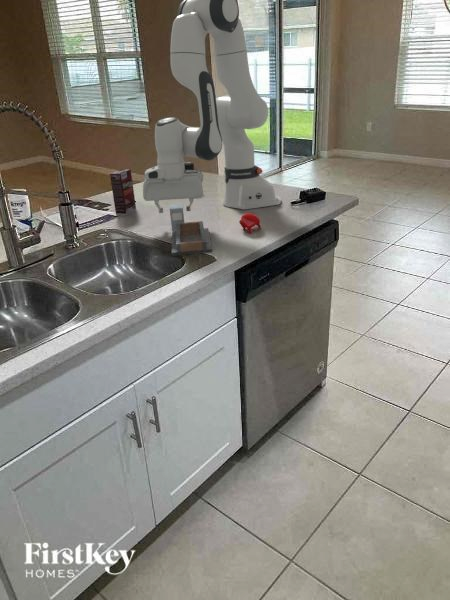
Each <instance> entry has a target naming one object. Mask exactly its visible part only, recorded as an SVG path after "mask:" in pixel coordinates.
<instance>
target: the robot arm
mask: <svg viewBox="0 0 450 600" xmlns="http://www.w3.org/2000/svg"><path fill="white" fill-rule="evenodd" d="M242 24H243V23H242V20H241V19H240V7H239V3H238V0H182V2H181V3H180V4H179V7H178V10H177V16H176V17H175V19H174V20H173V22H172V28H171V33H170V49H169V51H170V70H171V74H172V76H173V77H174V79H175V80H176V81H177V82H178V83H179V84H181V86H184V87H185V88H187V89H189V90H190V91H192V92H193V93H194V95H195V96H196V99H197V105H198V112H199V113H198V114H199V121H200V122H199V123H200V127H199V126H189V125H187V124H184V123H183V122H181V121H180V120H179V118H178V117H173V116H172V117H166V118H162V119H159V120H158V121H157V122H156V123H155V127H154V144H155V151H156V154H157V159H156V163H157V164H156V165H155V166H152V167H150V168H147V169H146V170H145V171H144V178H145V179H144V181H143V185H142V197H143V198H142V199H143V200H144V201H146V202H152V201H154V205H155V206H156V207H157V209H158V214H163V213H164V207H163V206H161V205H160V204H159V203H160V201H168V200H183V199H184V200H187V199H188V201H189V203H188V204H186V205H185V207H186V208H185V209H186V212H191V211H192V210H191V209H192V208H191V207H192V205H193V203H194V199H199V198H200V199H201V198H202V197H203V196H204V187H203V181H204V173H203V172H202V171H201V170H199V169H195V168H194V170H185V167H184V163H185V159H184V157H188V158H196V159H201V160H204V161H212V160H214V159H215V158H216V157H218V156H219V154H220V152H221V151H222V149H224V151H223V153H224V163H225V164H224V165H225V166H224V170H223V171H224V172H223V173H224V174H223V176H224V182H225V190H224V191H225V193H224V199H223V206H226V207H227V208H232V209H233V208H234V209H240V210H251V209H256V208H257V209H258V208H259V209H260V208H263V207H272V206H278V205H280V204H281V203H282V198H281V197H280V196H279V195H277V194H276V192H275V187H274V186H273V184H272V183H271V182H270V181H268V179H266V178H264V177H263V176H261V175H262V173H263V169H262V167H259V166H257V165H255V146H254V143H253V142H252V140H251V139H250V138H249V136H248V135H247V132H246V130H253V129H258V128H260V127H263V126H264V125H265V124H266V122H267V120H268V116H269V107H268V105H267V102H266V101H265V100H264V99H263V98H262V97H261V96H260V95H259V93H258V92H257V89H256V87H255V85H254V83H253V80H252V77H251V74H250V66H249V65H250V64H249V58H248V57H249V56H248V51H247V50H248V49H247V41H246V36H245V31H244V27H243V25H242ZM208 34H210V36H211V37H212V39H213V51H214V59H215V66H216V68H215V69H216V75H217V79H218V81H219V82H220V84H222V86H224V88H225V89H226V91H227V94H228V95H222V96H218V97H216V90H215V83H214V79H213V77H212V75H211V74H210V72H209V70H208V67H207V66H208V65H207V61H206V37H207V35H208Z"/></svg>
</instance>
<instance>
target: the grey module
mask: <svg viewBox="0 0 450 600" xmlns="http://www.w3.org/2000/svg"><path fill="white" fill-rule="evenodd" d="M183 205H184V204H183V203H182V202H181V203H172V204H169V214H170V215H169V216H170V224H171V231H176V223H185V214H184V206H183Z"/></svg>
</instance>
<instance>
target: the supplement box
mask: <svg viewBox="0 0 450 600" xmlns="http://www.w3.org/2000/svg"><path fill="white" fill-rule="evenodd" d="M109 177H110V184H111V190H112V198H113V203H114V210H115V211H114V212H115V216H119V217H121V216H122V217H124V216H126V217H127V216H128V215H130V214H131V213H133V212H134V211H137V205H136V199H135V192H134V191H135V190H134V185H133V184H134V183H133V176H132V169H129V168H120V169H118V170H116V171H114V172H112V173H109Z"/></svg>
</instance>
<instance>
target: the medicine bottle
mask: <svg viewBox="0 0 450 600" xmlns="http://www.w3.org/2000/svg"><path fill="white" fill-rule="evenodd" d="M184 167H185V170H195V165H194V163H193V162H191V161H190V162H189V161H188V162H187V161H186V162H185V161H184Z"/></svg>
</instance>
